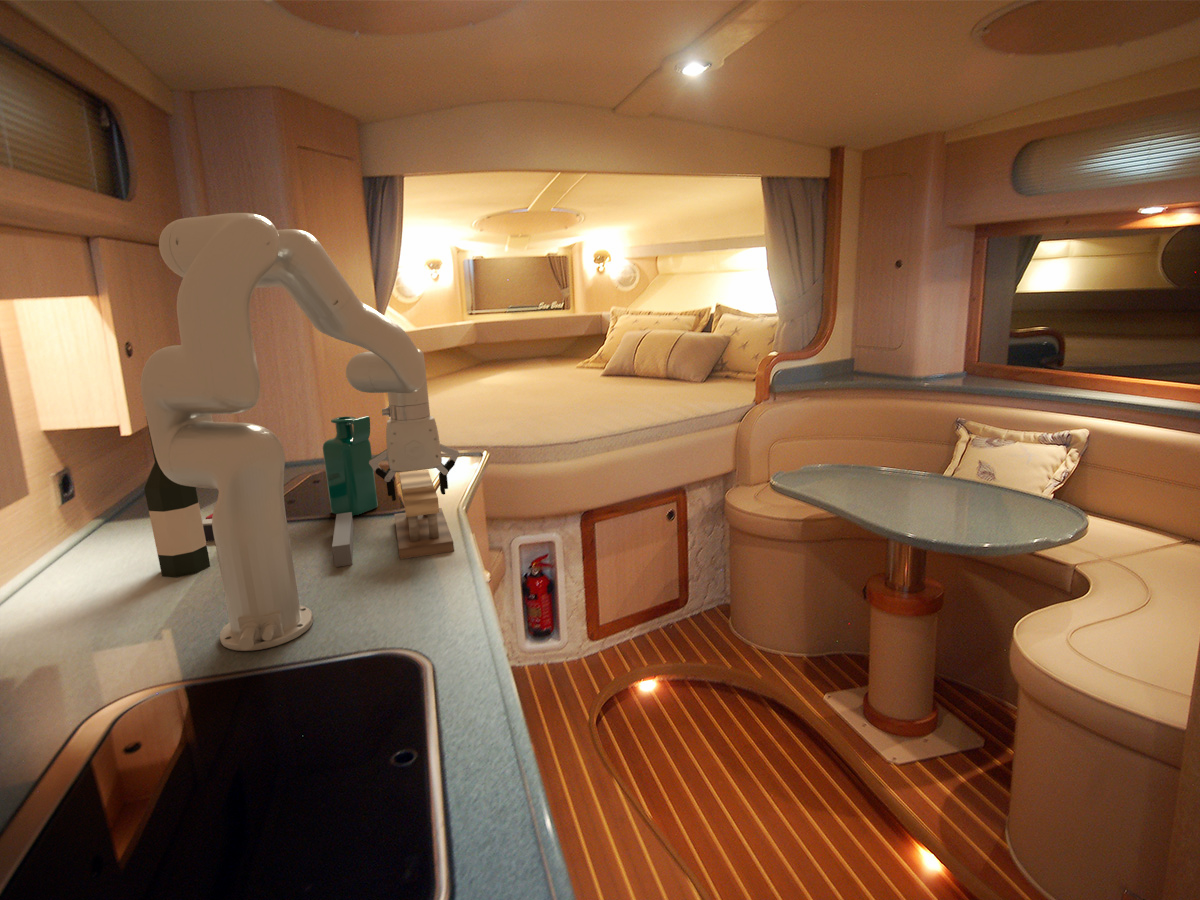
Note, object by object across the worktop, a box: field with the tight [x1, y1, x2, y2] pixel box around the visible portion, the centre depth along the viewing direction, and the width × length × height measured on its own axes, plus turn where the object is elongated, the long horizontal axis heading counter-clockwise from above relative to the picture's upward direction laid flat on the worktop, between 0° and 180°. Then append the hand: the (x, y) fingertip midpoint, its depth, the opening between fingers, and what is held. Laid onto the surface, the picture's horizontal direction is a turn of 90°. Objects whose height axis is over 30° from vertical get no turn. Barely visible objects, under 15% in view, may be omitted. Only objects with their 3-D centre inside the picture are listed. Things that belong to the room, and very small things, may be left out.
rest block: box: [331, 512, 355, 568], centre depth 134 cm, size 20×3×4 cm, turn 18°
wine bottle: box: [144, 416, 211, 578], centre depth 124 cm, size 8×8×30 cm
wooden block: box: [398, 469, 440, 517], centre depth 137 cm, size 22×6×3 cm, turn 18°
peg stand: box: [393, 507, 455, 560], centre depth 138 cm, size 22×10×8 cm, turn 18°
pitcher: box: [322, 415, 379, 517], centre depth 155 cm, size 10×8×22 cm
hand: (418, 495), depth 137 cm, fingers open, 9 cm apart
